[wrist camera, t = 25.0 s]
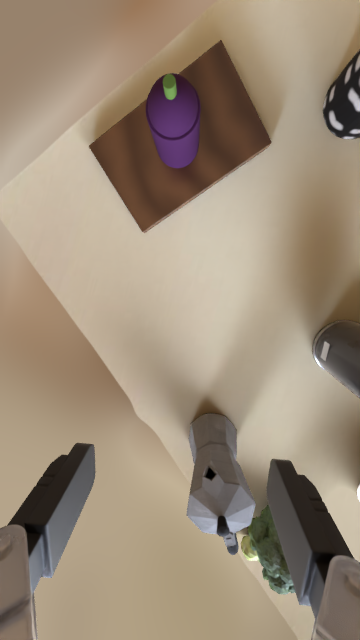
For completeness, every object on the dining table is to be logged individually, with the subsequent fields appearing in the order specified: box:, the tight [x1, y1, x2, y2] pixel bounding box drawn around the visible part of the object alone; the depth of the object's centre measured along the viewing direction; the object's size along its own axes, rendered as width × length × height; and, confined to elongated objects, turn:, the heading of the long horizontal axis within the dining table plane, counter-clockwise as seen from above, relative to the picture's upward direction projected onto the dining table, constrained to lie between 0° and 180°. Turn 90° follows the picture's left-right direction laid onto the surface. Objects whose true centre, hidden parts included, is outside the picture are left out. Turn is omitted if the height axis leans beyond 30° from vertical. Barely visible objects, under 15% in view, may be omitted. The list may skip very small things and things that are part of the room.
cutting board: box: [89, 40, 272, 233], centre depth 36 cm, size 22×14×2 cm, turn 122°
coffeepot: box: [187, 413, 256, 555], centre depth 39 cm, size 15×9×18 cm, turn 16°
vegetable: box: [241, 505, 296, 594], centre depth 47 cm, size 12×13×15 cm
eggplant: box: [146, 73, 201, 168], centre depth 29 cm, size 6×6×13 cm
